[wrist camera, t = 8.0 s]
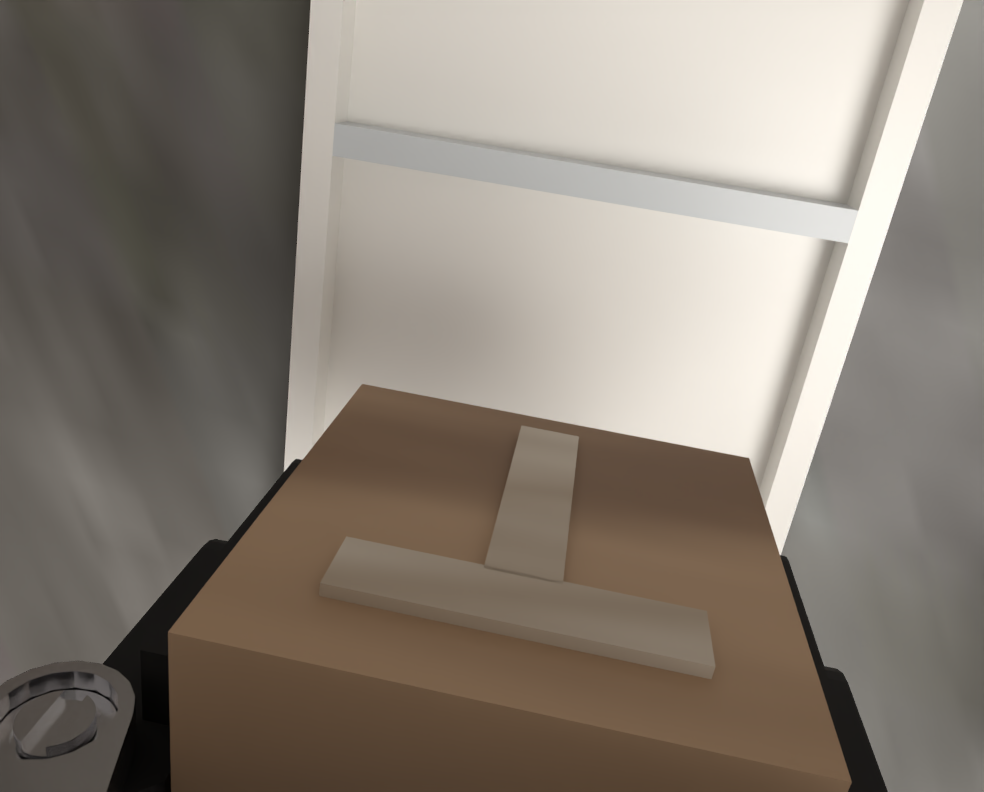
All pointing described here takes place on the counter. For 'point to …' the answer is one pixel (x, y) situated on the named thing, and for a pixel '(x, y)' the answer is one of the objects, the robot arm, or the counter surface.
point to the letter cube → (499, 620)
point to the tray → (604, 210)
